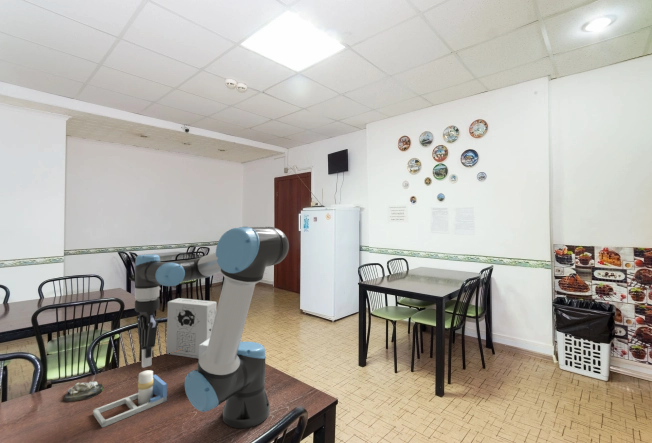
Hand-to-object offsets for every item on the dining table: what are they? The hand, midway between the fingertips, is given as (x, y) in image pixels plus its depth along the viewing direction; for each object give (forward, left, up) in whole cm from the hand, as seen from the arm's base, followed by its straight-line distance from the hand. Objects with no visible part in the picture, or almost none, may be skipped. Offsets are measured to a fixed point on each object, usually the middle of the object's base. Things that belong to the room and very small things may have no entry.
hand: (146, 365), depth 109 cm
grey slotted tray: (0, +5, -13) cm, 14 cm away
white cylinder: (0, 0, -13) cm, 13 cm away
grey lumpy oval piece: (+22, +13, -13) cm, 29 cm away
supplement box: (-3, -24, -13) cm, 28 cm away
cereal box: (+26, -29, -13) cm, 42 cm away
